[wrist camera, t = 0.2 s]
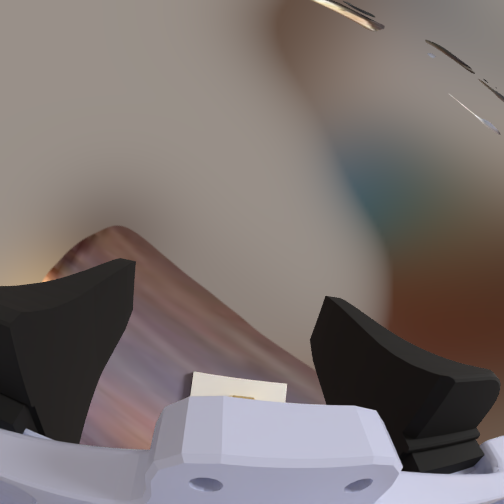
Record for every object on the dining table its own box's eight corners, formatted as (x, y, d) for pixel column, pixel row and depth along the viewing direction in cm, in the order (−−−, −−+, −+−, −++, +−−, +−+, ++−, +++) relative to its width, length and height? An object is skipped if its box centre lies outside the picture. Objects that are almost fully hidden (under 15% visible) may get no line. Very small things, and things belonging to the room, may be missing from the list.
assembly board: (269, 507, 32) (282, 522, 27) (177, 500, 30) (176, 515, 25) (284, 384, 40) (299, 382, 35) (193, 372, 38) (194, 368, 33)
